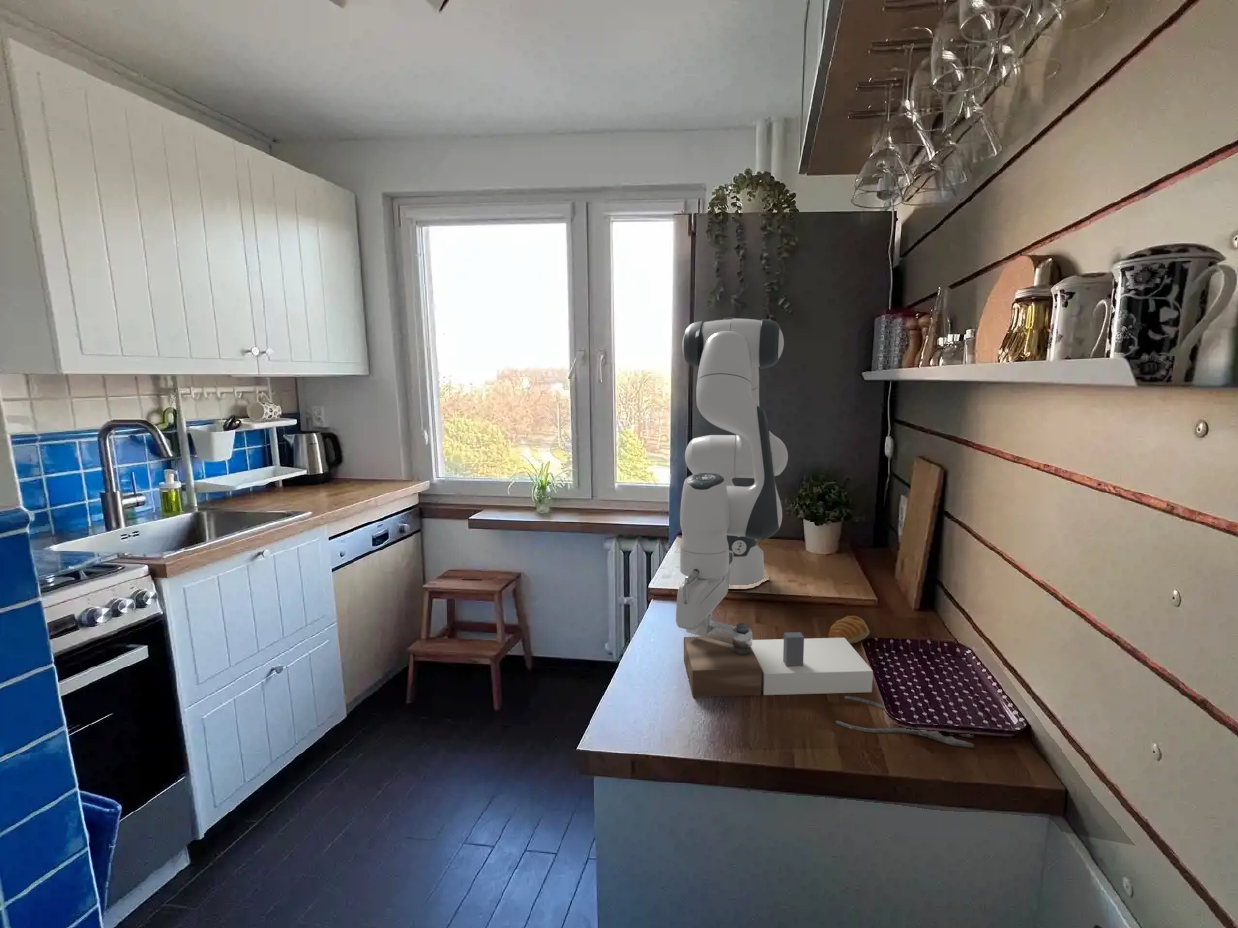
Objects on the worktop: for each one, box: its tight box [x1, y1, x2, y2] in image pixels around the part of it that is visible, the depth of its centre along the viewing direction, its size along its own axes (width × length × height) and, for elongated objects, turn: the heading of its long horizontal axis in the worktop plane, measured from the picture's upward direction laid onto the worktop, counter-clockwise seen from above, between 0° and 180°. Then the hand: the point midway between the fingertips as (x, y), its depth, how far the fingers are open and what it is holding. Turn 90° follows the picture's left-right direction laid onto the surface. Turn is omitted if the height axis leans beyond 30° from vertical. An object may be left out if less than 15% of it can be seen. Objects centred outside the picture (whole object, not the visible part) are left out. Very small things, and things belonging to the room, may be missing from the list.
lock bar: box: [685, 619, 753, 648], centre depth 114 cm, size 13×4×4 cm, turn 55°
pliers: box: [835, 695, 975, 749], centre depth 98 cm, size 10×1×20 cm
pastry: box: [828, 615, 871, 645], centre depth 127 cm, size 9×7×4 cm
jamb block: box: [683, 636, 762, 698], centre depth 112 cm, size 13×12×6 cm
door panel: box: [751, 631, 874, 696], centre depth 112 cm, size 13×19×10 cm
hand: (703, 633), depth 113 cm, fingers closed
